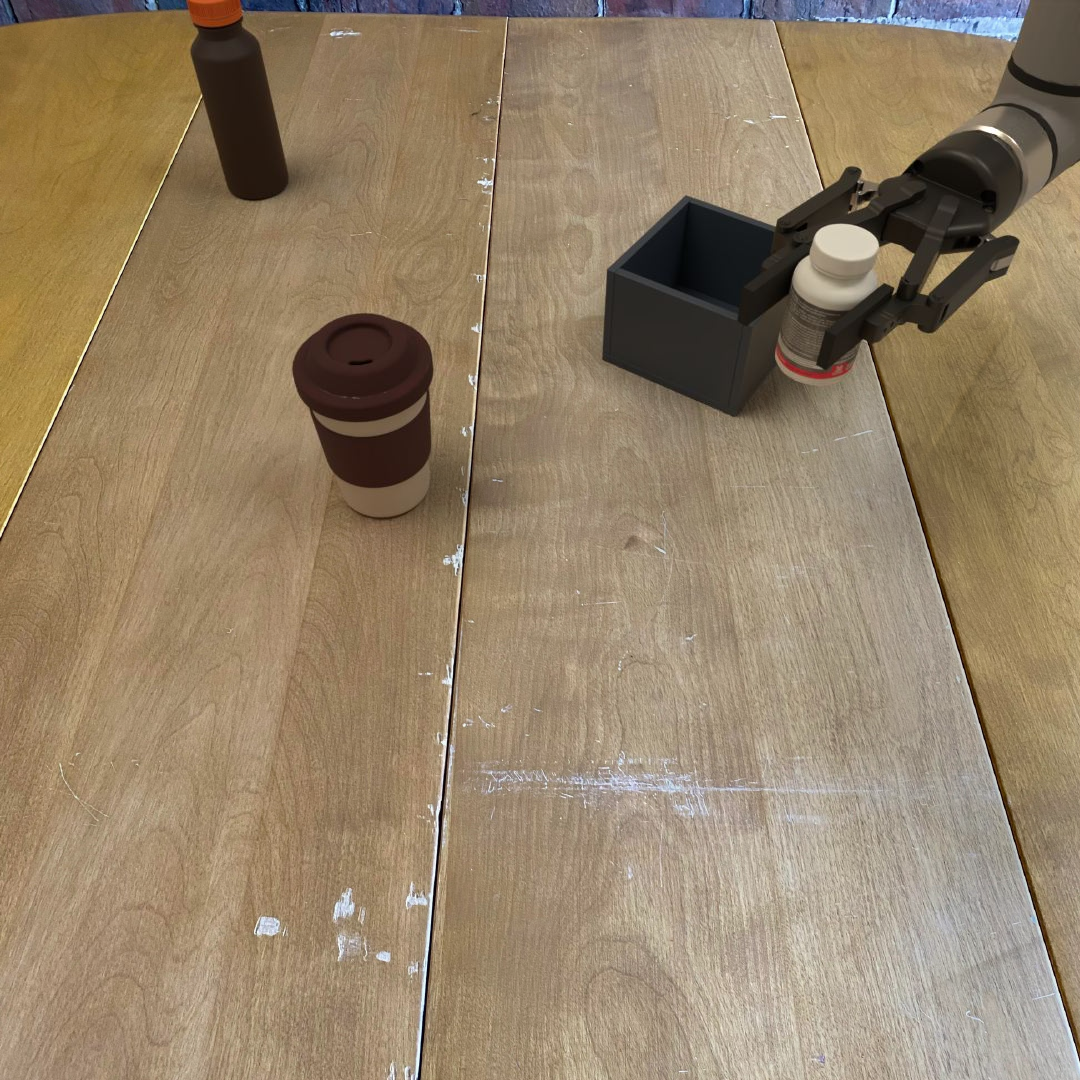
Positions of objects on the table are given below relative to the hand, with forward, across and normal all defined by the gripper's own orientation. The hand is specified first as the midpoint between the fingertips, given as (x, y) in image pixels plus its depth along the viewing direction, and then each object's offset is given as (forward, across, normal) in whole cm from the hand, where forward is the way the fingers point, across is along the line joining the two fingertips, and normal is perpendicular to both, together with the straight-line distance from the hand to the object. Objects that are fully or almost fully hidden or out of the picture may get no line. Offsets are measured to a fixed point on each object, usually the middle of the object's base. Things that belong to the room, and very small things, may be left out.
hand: (784, 328), depth 62 cm
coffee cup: (+16, +24, -20) cm, 35 cm away
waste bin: (-16, +16, -20) cm, 30 cm away
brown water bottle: (-3, +69, -21) cm, 72 cm away
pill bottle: (-5, 0, -6) cm, 8 cm away
